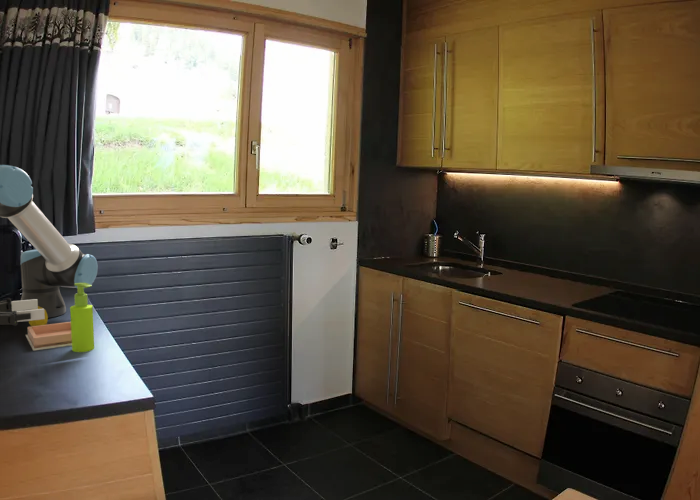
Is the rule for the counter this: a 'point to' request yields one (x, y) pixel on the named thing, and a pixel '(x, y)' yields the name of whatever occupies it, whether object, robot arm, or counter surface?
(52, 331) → the dish
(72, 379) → the counter surface
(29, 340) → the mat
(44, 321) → the lemon
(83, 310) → the soap dispenser
